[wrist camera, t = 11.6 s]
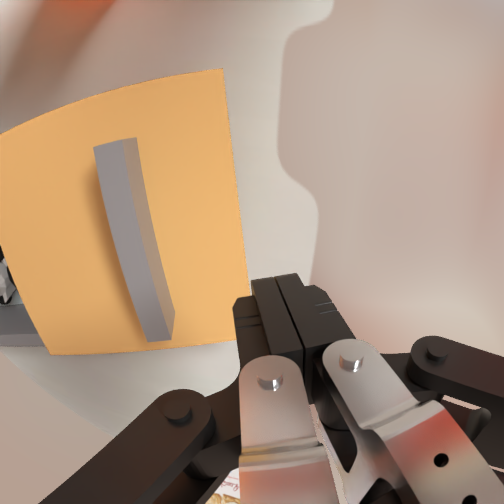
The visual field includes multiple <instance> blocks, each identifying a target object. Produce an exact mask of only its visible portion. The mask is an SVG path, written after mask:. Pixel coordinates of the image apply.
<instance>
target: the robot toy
mask: <svg viewBox="0 0 504 504" xmlns="http://www.w3.org/2000/svg"><path fill="white" fill-rule="evenodd" d="M16 288H17V287H16V285H15V283H14V280H13V278H12V275H11V273H10V270H9V268H8V265H7V262H6V260H5V257H4V254H3V251H2V248H1V245H0V303H1V304H3V305H5V304H8V303H9V302H10V301H11V298H12V293H13V292H14V291H15V289H16Z"/></svg>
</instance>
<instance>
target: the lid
mask: <svg viewBox="0 0 504 504" xmlns="http://www.w3.org/2000/svg"><path fill="white" fill-rule="evenodd" d="M0 245H1V248H2V251H3V254H4V257H5V260H6V262H7V265H8V268H9V270H10V273H11V275H12V278H13V280H14V283H15V285H16V287H17V290H18V292H19V294H20V297H21V299H22V301H23V303H24V305H25V308H26V310H27V312H28V314H29V316H30V318H31V320H32V322H33V324H34V326H35V328H36V330H37V332H38V333H39V335H40V337H41V339H42V341H43V343H44V344H45V346H46V348H47V350H48V351H49V353H50V355H80V354H104V353H121V352H135V351H147V350H158V349H168V348H178V347H187V346H195V345H203V344H211V343H218V342H225V341H232V340H237V339H236V332H235V325H234V318H233V311H232V307H233V305H234V303H235V301H236V299H237V298H239V297H246V296H250V289H249V281H248V274H247V266H246V258H245V250H244V242H243V234H242V226H241V218H240V210H239V202H238V193H237V185H236V177H235V169H234V161H233V152H232V144H231V135H230V127H229V118H228V110H227V101H226V93H225V84H224V75H223V68H221V69H213V70H205V71H198V72H192V73H185V74H180V75H174V76H169V77H164V78H159V79H154V80H150V81H145V82H141V83H137V84H133V85H129V86H125V87H121V88H117V89H114V90H110V91H107V92H104V93H100V94H97V95H94V96H91V97H88V98H85V99H82V100H79V101H76V102H73V103H70V104H68V105H65V106H62V107H60V108H57V109H55V110H52V111H50V112H47V113H45V114H42V115H40V116H38V117H35V118H33V119H31V120H29V121H26V122H24V123H22V124H20V125H18V126H16V127H14V128H12V129H10V130H8V131H6V132H4V133H2V134H0Z"/></svg>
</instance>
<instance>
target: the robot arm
mask: <svg viewBox="0 0 504 504" xmlns="http://www.w3.org/2000/svg"><path fill="white" fill-rule="evenodd" d="M251 289H252V296H246V297H239V298H237V299H236V301H235V303H234V305H233V307H232V311H233V318H234V325H235V332H236V339H237V346H238V353H239V359H240V372H239V375H238V377H237V378H236V380H235V381H234V382H233V383H232V384H231V385H230V386H228V387H227V388H225V389H224V390H222V391H219V392H217V393H215V394H212V395H209V396H207V397H204V396H203V395H202V394H200V393H198V392H196V391H193V390H188V389H178V390H173V391H169V392H167V393H165V394H163V395H161V396H159V397H158V398H157V399H156V400H155V401H154V402H153V403H152V404H151V405H149V406H148V407H147V408H146V409H145V410H144V411H143V412H142V413H141V414H140V415H139V416H138V417H137V418H136V419H135V420H133V421H132V422H131V423H130V424H129V425H128V426H127V427H126V428H125V429H124V430H123V431H122V432H120V433H119V434H118V435H117V436H116V437H115V438H114V439H113V440H112V441H111V442H109V443H108V444H107V445H106V446H105V447H104V448H103V449H102V450H101V451H99V452H98V453H97V454H96V455H95V456H94V457H93V458H92V459H90V461H88V462H87V463H86V464H85V465H84V466H82V467H81V468H80V469H79V470H78V471H77V472H76V473H74V474H73V475H72V476H71V477H70V478H69V479H67V480H66V481H65V482H64V483H63V484H61V485H60V486H59V487H58V488H57V489H56V490H54V491H53V492H52V493H51V494H50V495H48V496H47V497H46V498H45V499H43V500H42V501H41V502H40V503H39V504H205V503H206V502H207V501H208V500H209V499H210V497H211V496H212V495H213V494H214V493H215V491H216V490H217V489H218V488H219V486H220V485H221V484H222V483H223V481H224V480H225V479H226V478H227V476H228V475H229V473H230V471H232V470H235V469H237V468H239V485H240V504H339V500H338V495H337V491H336V487H335V483H334V479H333V475H332V471H331V467H330V463H329V459H328V455H327V452H326V450H325V447H324V445H323V444H322V443H319V441H318V439H317V435H316V431H315V427H314V423H313V419H312V415H311V410H310V406H309V405H310V404H315V407H316V410H317V412H318V416H317V425H318V428H319V430H320V433H321V435H322V437H323V439H324V441H325V443H326V445H327V448H328V450H329V452H330V454H331V456H332V458H333V460H334V463H335V465H336V467H337V469H338V471H339V473H340V476H341V479H342V483H343V491H344V495H345V498H346V501H347V503H348V504H504V473H503V472H500V471H497V470H494V469H491V468H490V466H489V465H491V466H494V467H498V468H502V469H504V357H502V356H499V355H495V354H492V353H489V352H486V351H483V350H480V349H477V348H474V347H471V346H467V345H464V344H461V343H458V342H455V341H452V340H449V339H446V338H442V337H439V336H426V337H423V338H420V339H419V340H417V341H416V342H415V343H414V344H413V346H412V349H411V352H410V353H399V354H381V353H379V352H378V351H377V350H376V349H375V348H374V346H372V345H371V344H369V343H367V342H365V341H362V340H358V339H356V338H355V336H354V335H353V333H352V332H351V330H350V328H349V327H348V325H347V324H346V322H345V321H344V319H343V318H342V316H341V315H340V313H339V312H338V311H337V309H336V307H335V305H334V304H333V303H332V301H331V299H330V298H329V296H328V295H327V293H326V292H325V291H323V290H322V289H320V288H318V287H317V286H315V285H311V286H305V287H304V285H303V283H302V281H301V280H300V278H299V276H298V274H297V273H293V274H287V275H281V276H275V277H274V278H273V277H269V278H262V279H256V280H251ZM444 395H447V396H450V397H453V398H455V399H458V400H461V401H464V402H467V403H470V404H473V405H476V406H479V407H481V408H480V409H476V410H472V409H469V408H466V407H463V406H460V405H457V404H454V403H451V402H448V401H446V400H443V399H442V398H443V397H444Z"/></svg>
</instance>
